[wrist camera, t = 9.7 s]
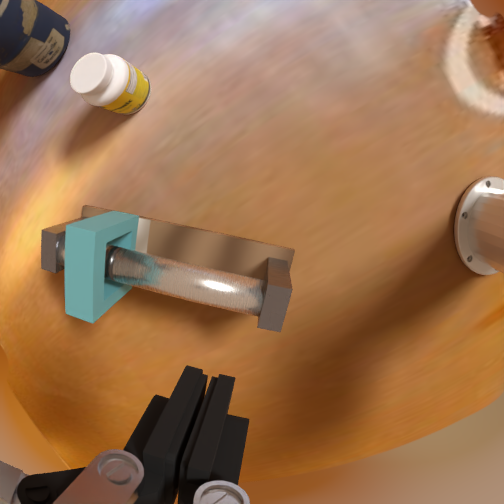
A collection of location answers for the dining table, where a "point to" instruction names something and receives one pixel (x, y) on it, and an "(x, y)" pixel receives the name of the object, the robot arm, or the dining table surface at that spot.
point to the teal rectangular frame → (95, 263)
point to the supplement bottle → (110, 83)
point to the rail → (186, 279)
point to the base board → (203, 246)
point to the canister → (31, 37)
